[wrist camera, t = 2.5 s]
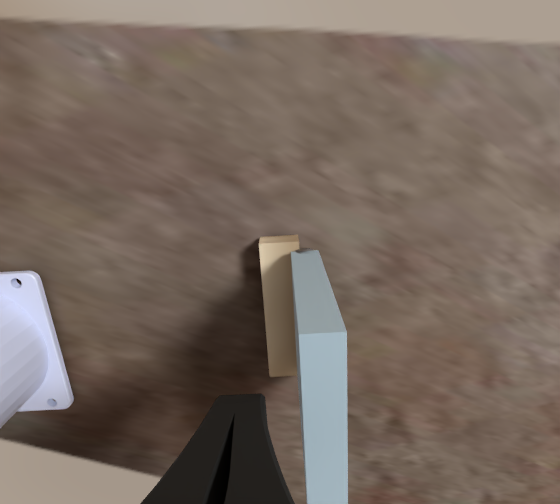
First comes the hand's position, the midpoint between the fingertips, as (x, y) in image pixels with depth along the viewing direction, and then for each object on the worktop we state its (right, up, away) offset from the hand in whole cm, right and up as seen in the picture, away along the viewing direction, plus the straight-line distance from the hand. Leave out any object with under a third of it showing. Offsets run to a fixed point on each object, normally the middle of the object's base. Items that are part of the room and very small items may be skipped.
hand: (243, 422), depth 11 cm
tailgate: (+2, +2, +6) cm, 7 cm away
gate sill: (+1, +2, +8) cm, 8 cm away
